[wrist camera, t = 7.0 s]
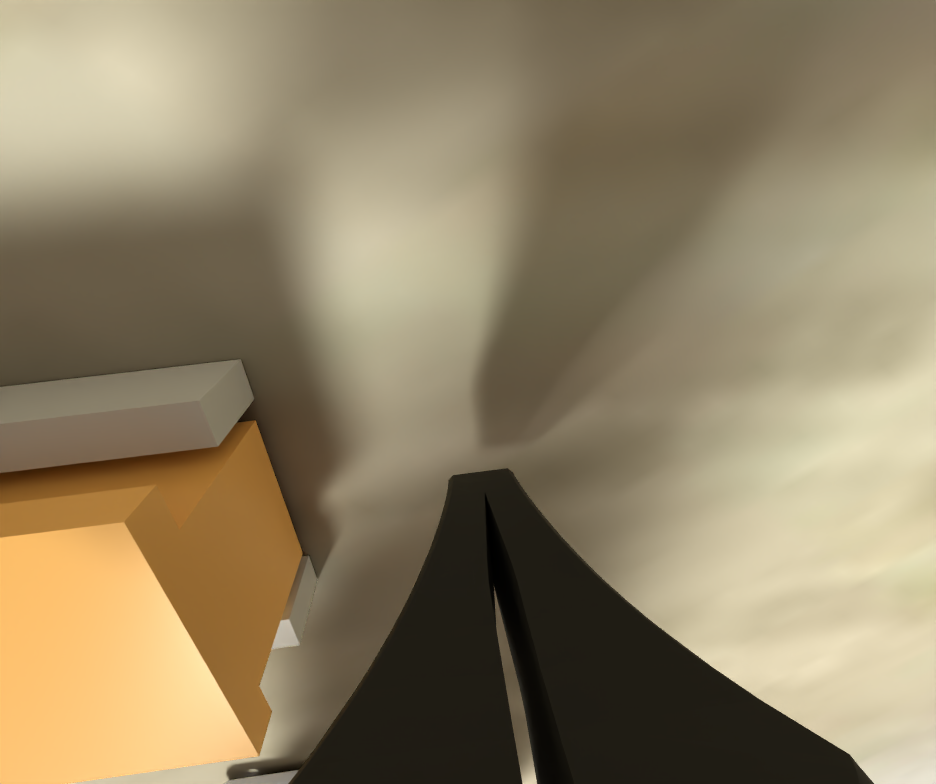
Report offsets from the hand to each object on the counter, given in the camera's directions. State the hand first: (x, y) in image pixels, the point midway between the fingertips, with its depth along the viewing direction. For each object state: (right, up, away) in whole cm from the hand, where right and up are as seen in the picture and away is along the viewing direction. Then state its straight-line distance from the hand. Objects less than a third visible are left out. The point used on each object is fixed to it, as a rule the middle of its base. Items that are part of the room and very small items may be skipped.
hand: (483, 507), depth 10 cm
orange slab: (-9, 0, +1) cm, 9 cm away
